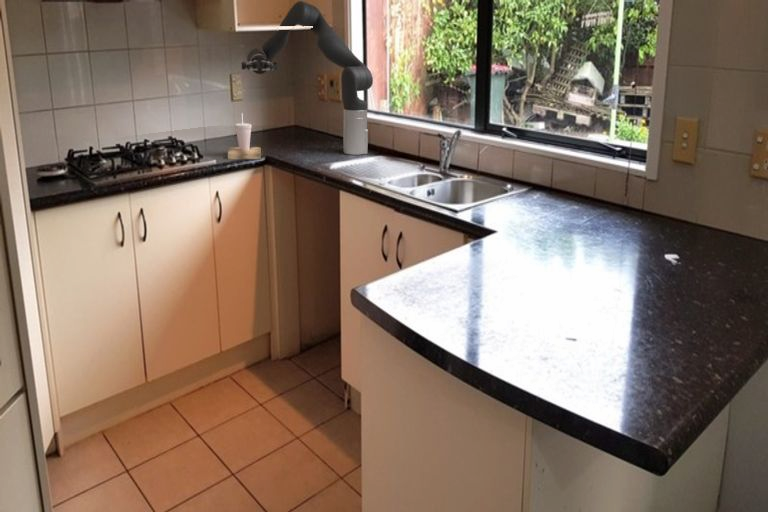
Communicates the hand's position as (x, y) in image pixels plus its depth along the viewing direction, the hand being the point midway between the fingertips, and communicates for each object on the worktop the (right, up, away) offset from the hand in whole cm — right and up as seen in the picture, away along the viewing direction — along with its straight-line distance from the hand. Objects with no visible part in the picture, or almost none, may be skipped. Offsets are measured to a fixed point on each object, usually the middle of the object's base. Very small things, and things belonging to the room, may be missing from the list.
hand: (259, 67), depth 279 cm
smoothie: (-5, -34, -7) cm, 35 cm away
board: (-5, -36, -6) cm, 37 cm away
